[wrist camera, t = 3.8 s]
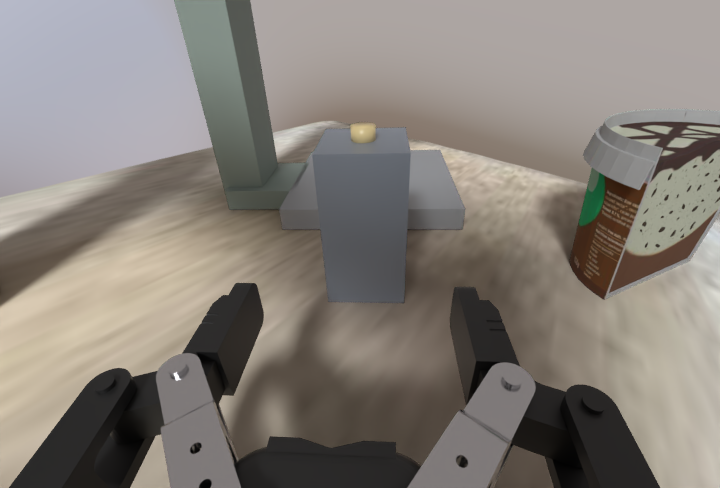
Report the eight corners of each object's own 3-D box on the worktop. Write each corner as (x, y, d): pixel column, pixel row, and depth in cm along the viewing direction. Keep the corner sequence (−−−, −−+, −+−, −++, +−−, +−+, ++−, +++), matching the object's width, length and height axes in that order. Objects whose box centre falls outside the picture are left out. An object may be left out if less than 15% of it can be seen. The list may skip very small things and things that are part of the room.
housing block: (328, 301, 23) (310, 138, 17) (337, 258, 27) (324, 115, 22) (404, 303, 23) (411, 136, 17) (401, 259, 27) (406, 114, 21)
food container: (619, 220, 31) (669, 100, 25) (701, 255, 26) (784, 116, 21) (513, 257, 27) (547, 123, 21) (588, 307, 22) (655, 150, 16)
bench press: (207, 229, 32) (80, -177, 18) (260, 167, 45) (208, -94, 32) (462, 229, 30) (525, -215, 17) (438, 165, 44) (463, -111, 30)
